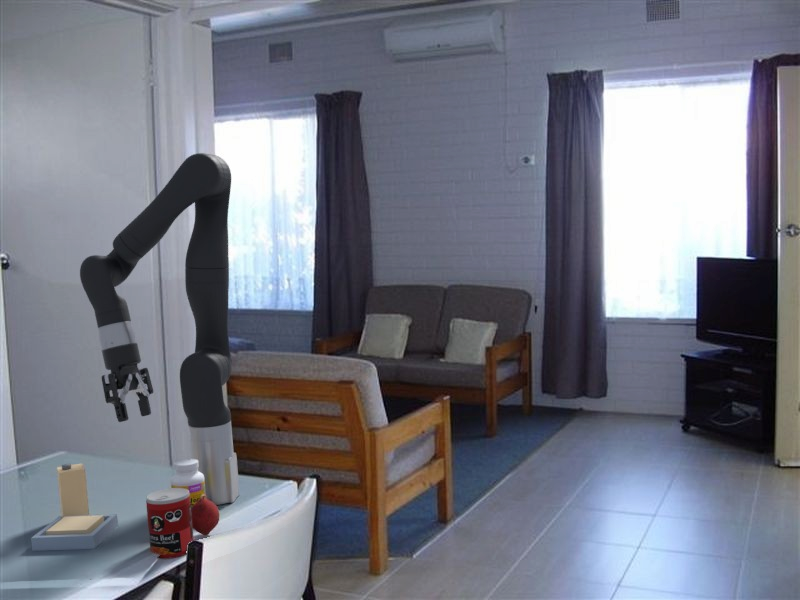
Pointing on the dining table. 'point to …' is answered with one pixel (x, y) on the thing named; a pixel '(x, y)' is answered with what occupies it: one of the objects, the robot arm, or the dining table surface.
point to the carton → (73, 490)
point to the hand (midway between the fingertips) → (135, 418)
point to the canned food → (169, 522)
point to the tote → (74, 536)
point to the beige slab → (75, 525)
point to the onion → (204, 515)
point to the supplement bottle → (189, 479)
